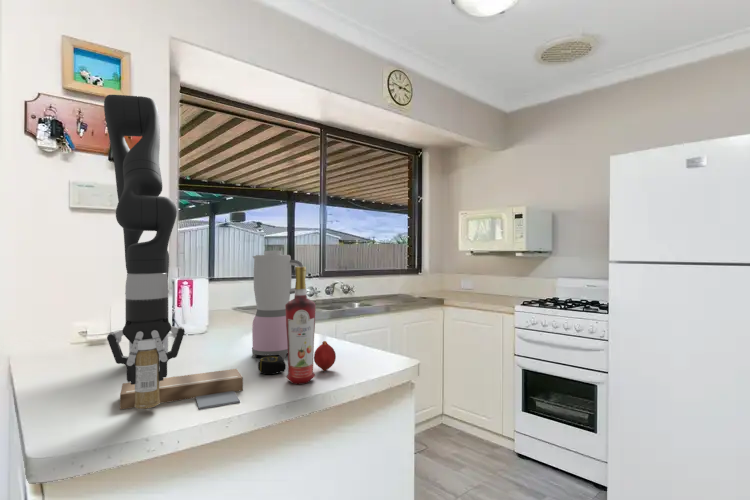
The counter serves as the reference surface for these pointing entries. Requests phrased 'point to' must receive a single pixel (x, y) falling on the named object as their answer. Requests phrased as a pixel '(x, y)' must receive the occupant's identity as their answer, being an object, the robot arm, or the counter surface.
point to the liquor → (300, 332)
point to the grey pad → (217, 399)
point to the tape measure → (271, 365)
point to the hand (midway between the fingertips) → (147, 381)
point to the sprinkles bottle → (147, 375)
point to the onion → (324, 356)
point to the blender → (271, 302)
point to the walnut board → (188, 387)
